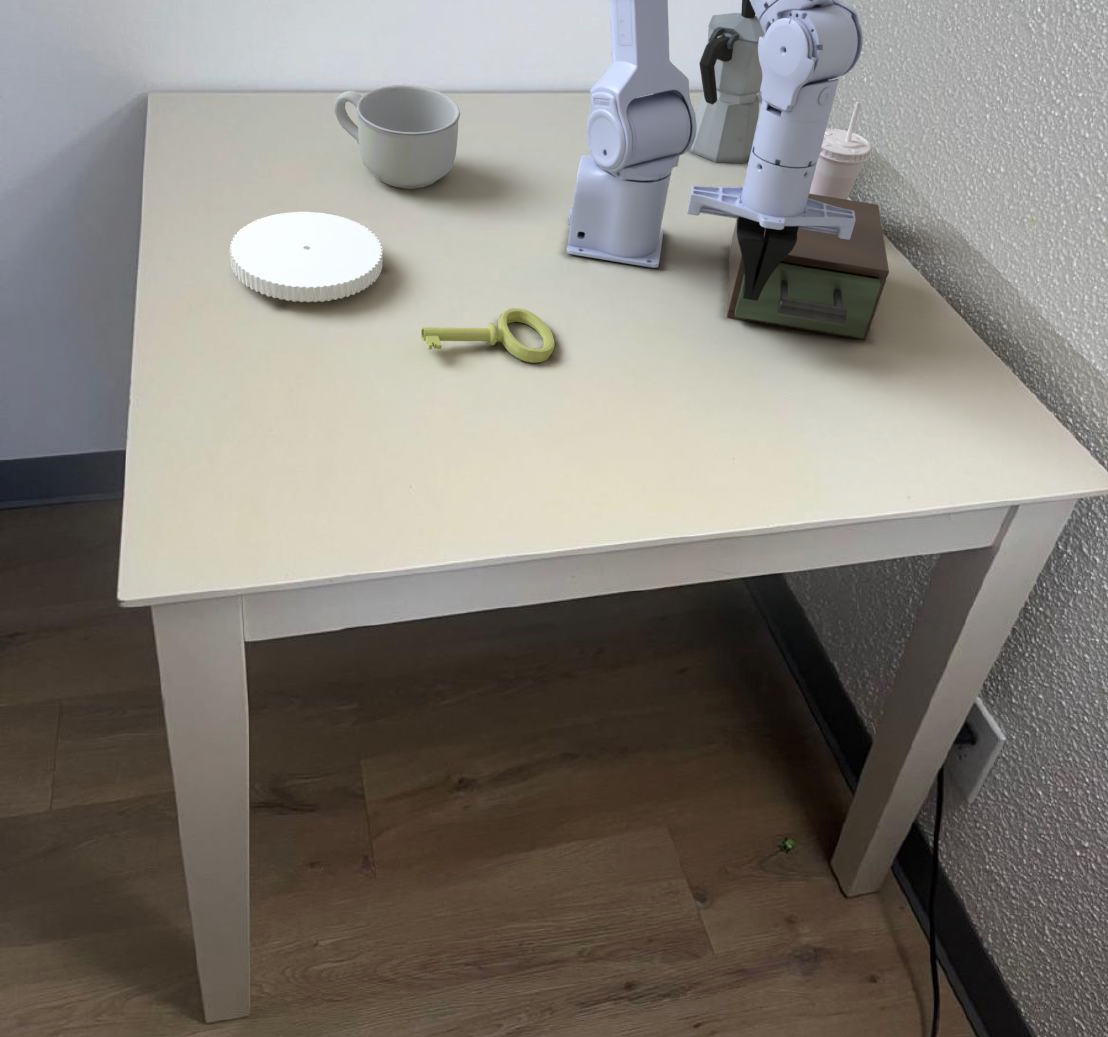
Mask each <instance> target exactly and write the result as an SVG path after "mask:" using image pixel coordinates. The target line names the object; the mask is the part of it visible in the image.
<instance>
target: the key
mask: <svg viewBox="0 0 1108 1037" xmlns="http://www.w3.org/2000/svg"><path fill="white" fill-rule="evenodd" d="M510 323H522V324H526V325H527V326H529V327H531V328H532V329H534V330H535V331H536V332H537V333H538V334H539V336H540V337H541V339H542V341H543V346H542V347H541V348H537V347H536V348H535V347H530V346H526V345H524V344H523V343H522V342H520V341H519V340H518V339H517V338H516V337H515V336H514V335H513V334H512V332H511V331H510V328H509V326H508V324H510ZM420 336H421V341H422V342H425V343H426V346H427V348H428V350H433V349H436V350H442V346H443V344H442V342H487V343H488V345H489V346H492V347H493V346H495V345H496V344H497V342H501V343H502V346H504V348H505V350H507V351H508V352H509V353H510V354H511V355H512V356H514V357H515V358H517V359H519V360H521V361H524V362H527V363H535V364H536V363H542V362H546V361H547V360H549V358H550V356H552V354H553V352H554V351H555V346H556V345H555V343H556V342H555V338H554V336H553V334H552V331H551V330H550V328H549V326H548V325H547V324H546V323H545V321H543V320H542V318H540V317H539V316H538V315H536V314H535V313H534V312H531V311H529V310H527V309H524V308H520V307H519V308H517V307H511V308H507V309H505V310H503V311H502V313H501V315H500V316H499V319H498V321H497V326H496V324H494V323H489V324H488V325H487V327H434V326H433V327H429V326H427V327H426V326H424V327H423V326H422V327H421V330H420Z"/></svg>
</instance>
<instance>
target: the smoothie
mask: <svg viewBox="0 0 1108 1037" xmlns="http://www.w3.org/2000/svg"><path fill="white" fill-rule="evenodd" d="M861 106H862V101H861V100H856V102H855V105H854V108H853V112H852V115H851V119H850V122H849V124H848V125H849V126H848V129H847V130H845V129H840V128H826V131H825V135H824V139H823V143H822V146H821V150H820V154H819V158H818V161H817V165H816V169H815V173H814V177H813V181H812V184H811V188H810V192H809V194H815V195H821V196H827V197H834V198H840V199H846V200H849V197H850V195H851V192H852V190H853V188H854V186H855V183H856V181H857V180H858V177H859V174H860V172H861V170H862V168H863V165H864V164H865V161H867V160H868V159H869V158H870V155H871V151H872V144H871V143H870V141H869V140H867V139H866V138H865V137H864V136H862V135H860V134H857V133H856V132H854V129H855V128H856V127H855V126H856V123H857V120H858V117H859V113H860V111H861V110H860V109H861Z"/></svg>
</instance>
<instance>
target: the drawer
mask: <svg viewBox="0 0 1108 1037" xmlns="http://www.w3.org/2000/svg"><path fill="white" fill-rule="evenodd" d="M757 265H758V264H757ZM803 266H804V265H800V264H794V263H788V262H782V261H781V262H780V263H779V265H778V266H777V267H776V269H775V270H774V271H773V273H772V274H771V276H770V277H769V279H768V280H767V282H766V284H765V286H764V288H763V290H762V292H761V294H760V296H759V299H758V301H755V300H749V299H744V298H743V287H744V275H743V279H742V284H741V288H740V292H739V296H738V300H737V304H736V308H735V317H739V318H745V319H751V320H757V321H764V322H770V323H776V324H782V325H788V326H794V327H800V328H806V329H812V330H818V331H824V332H830V333H836V334H842V335H848V336H854V337H860V338H863V337H864V334H865V331H866V328H867V325H868V322H869V319H870V316H871V313H872V310H873V307H874V304H875V301H876V298H877V295H878V292H879V289H880V286H881V284H880V279H875V278H869V277H870V276H867V275H861V274H855V273H851V274H845V273H839V272H833V271H827V270H820V269H814V268H808V267H803Z"/></svg>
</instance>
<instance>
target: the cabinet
mask: <svg viewBox="0 0 1108 1037" xmlns="http://www.w3.org/2000/svg"><path fill="white" fill-rule="evenodd" d="M808 198H809V199H812V200H815V201H819V202H822V203H825V204H828V205H832V206H835V207H839V208H843V209H848V210H853V211H854V212H855V219H856V221H855V224H854V228H853V231H852V235H851V238H850V240H847V239H841V238H839V237H838V235H837V234H830V233H824V232H818V231H811V230H805V229H799V228H798V232H797V242H796V244H795V246H794V248H793V249H792V251H791V252H790V253H789V254H788V255H787V256H786V257H785V258H784V259H783V260H782V262H788V263H794V264H800V265H806V266H812V267H819V268H825V269H831V270H837V271H843V272H849V273H855V274H861V275H867V276H870V277H869V278H875V279H880V284H881V286H880V289H879V292H878V295H877V298H876V301H875V304H874V307H873V310H872V313H871V316H870V319H869V322H868V325H867V328H866V331H865V334H864V337H863V338H860V337H854V336H848V335H842V334H836V333H830V332H824V331H818V330H812V329H806V328H800V327H794V326H788V325H782V324H776V323H770V322H764V321H757V320H751V319H745V318H739V317H735V308H736V304H737V300H738V296H739V292H740V288H741V284H742V279H743V275H744V266H743V260H742V255H741V250H740V246H739V243H738V238H737V219H736V221H735V225H734V228H733V233H732V238H731V241H730V242H731V243H730V246H729V255H728V256H729V257H728V278H727V300H726V301H727V302H726V318H728V319H729V318H730V319H735V320H741V321H747V322H753V323H760V324H765V325H770V326H771V325H772V326H777V327H783V328H790V329H795V330H801V331H808V332H815V333H820V334H825V335H832V336H839V337H844V338H850V339H854V340H855V339H857V340H862V341H867V338H868V335H869V332H870V329H871V326H872V323H873V320H874V318H875V314H876V311H877V309H878V306H879V303H880V301H881V296H882V294H883V291H884V288H885V285H886V282H887V279H888V276H889V274H890V268H889V262H888V257H887V250H886V244H885V239H884V233H883V226H882V220H881V213H880V207H879V204H876V203H870V202H864V201H858V200H852V199H847V200H846V199H840V198H834V197H827V196H821V195H815V194H809V196H808ZM765 231H766V228H765ZM764 235H765V232H764ZM759 258H760V257H759Z"/></svg>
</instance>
